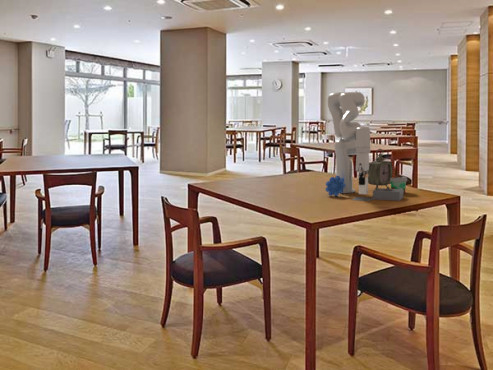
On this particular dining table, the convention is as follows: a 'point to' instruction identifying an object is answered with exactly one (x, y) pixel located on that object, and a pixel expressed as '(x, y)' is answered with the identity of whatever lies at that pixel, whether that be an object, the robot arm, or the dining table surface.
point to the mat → (362, 199)
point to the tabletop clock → (380, 171)
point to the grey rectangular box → (388, 194)
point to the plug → (364, 186)
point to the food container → (399, 183)
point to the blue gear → (335, 186)
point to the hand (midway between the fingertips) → (363, 183)
